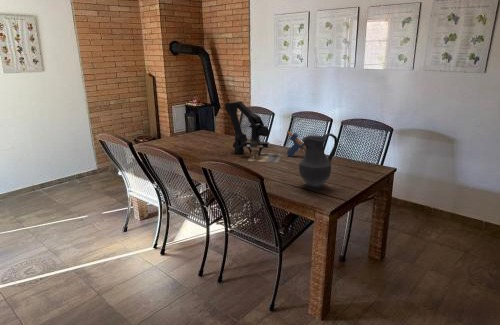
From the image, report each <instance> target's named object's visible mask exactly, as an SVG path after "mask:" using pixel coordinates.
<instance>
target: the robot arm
mask: <svg viewBox="0 0 500 325" xmlns="http://www.w3.org/2000/svg"><path fill="white" fill-rule="evenodd" d="M224 108H225V111H226V113H227V114H228V115H229V117H230V120H231V123H232V127H233V129H234V133H235V137H234V142H233V143H232V147H233V149H234V154H235V155H245V153H246V152H245V151H246V149H245V148H247V149H248V152H249V153H250V155H251V151H252V150H253V148H255V149H256V148H258V149H259V156H260V153H262V150H263V149H264V148H265V149H266V148H267V149H268V148H269V147H270V142H269V141H263V142H261V140H260V138H261V137H264V138H265V137H269V135H270V129H269V128H268V126H267V125H265V124H264V122H263V120H262V117H261V116H260V115H259V114H257V113H254V112H252V110H250V109H249V108H248V107H247V105H245V104H244V103H243V101H236V102H235V101H234V102H233V101H231V102H226V103H225V105H224ZM238 110H239V111H240V112H241V113H242V114H243V115H244V116H245V117H246V118H247V122H248V123H249V124H250V125H249V126H248V128H250V130H251V131H250V133H251V135H250V136H251V137H250V141H249V140H248V137H247V134H244V133H243V131H242V127H241V125H240V120H239V117H238Z"/></svg>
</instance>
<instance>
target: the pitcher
mask: <svg viewBox="0 0 500 325" xmlns="http://www.w3.org/2000/svg"><path fill="white" fill-rule="evenodd" d="M328 137H331V138H333V140H334V141H333V142H334V144H333V147H332V149H331V151H330V153H329V155H328V157H326V154H325V151H324V150H325V149H324V147H325V142H326V141H327V139H328ZM301 140H302V141H301V142H302V143H304V144H305V146H306V151H305V153H304V156H303V158H302V160H301V161H299V165H298V171H299V175H300V177H301V179H303V181H304V182H305V183H306V184H305V185H304V187H305V188H306V189H307V190H311V191H321V190H322V189H323V187H324V186H323V185H324V184H325V183H326V182H328V180H329V179H330V176H331V172H332V160H333V157H334V155H335V152H336V151H337V148H338V146H339V145H338V143H339V142H338V141H339V140H338V138H337V136H336V135H334V134H333V133H330V132H329V133H326V134H323V135H317V134H316V135H315V134H312V135H311V134H310V135H309V134H308V135H306V136H304V137H302V138H301Z"/></svg>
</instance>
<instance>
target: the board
mask: <svg viewBox="0 0 500 325" xmlns="http://www.w3.org/2000/svg"><path fill="white" fill-rule="evenodd" d="M280 159H281V153H268V152H266V153H265V152H261V153H260V156H259V158H258V159H251V155H250V156H249V157H248V159H247V161H248V162H261V163H262V162H264V163H277V164H278V163H279V161H280Z"/></svg>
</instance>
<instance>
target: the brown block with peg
mask: <svg viewBox="0 0 500 325" xmlns="http://www.w3.org/2000/svg"><path fill="white" fill-rule="evenodd" d="M250 156H251V159H258V158H259V148H258V149H256V148H255V149H254V148H252V151H251V154H250Z"/></svg>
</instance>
